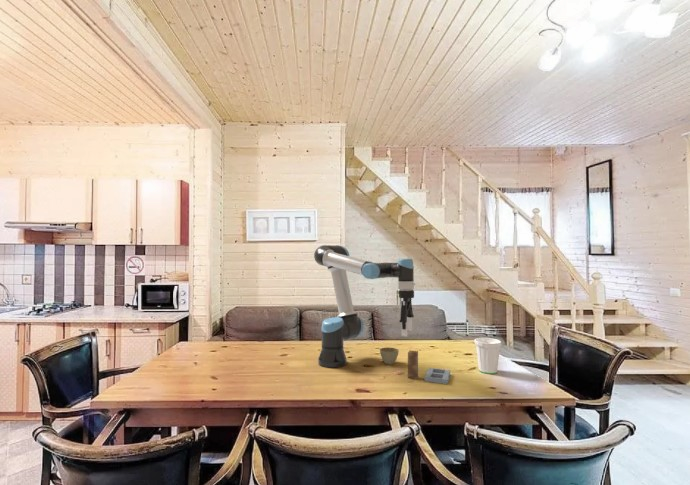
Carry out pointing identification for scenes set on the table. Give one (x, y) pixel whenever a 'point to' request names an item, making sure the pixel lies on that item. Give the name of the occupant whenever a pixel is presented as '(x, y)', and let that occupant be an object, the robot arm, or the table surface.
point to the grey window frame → (437, 375)
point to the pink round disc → (398, 372)
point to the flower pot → (389, 355)
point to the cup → (488, 354)
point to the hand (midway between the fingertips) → (407, 333)
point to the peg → (413, 364)
